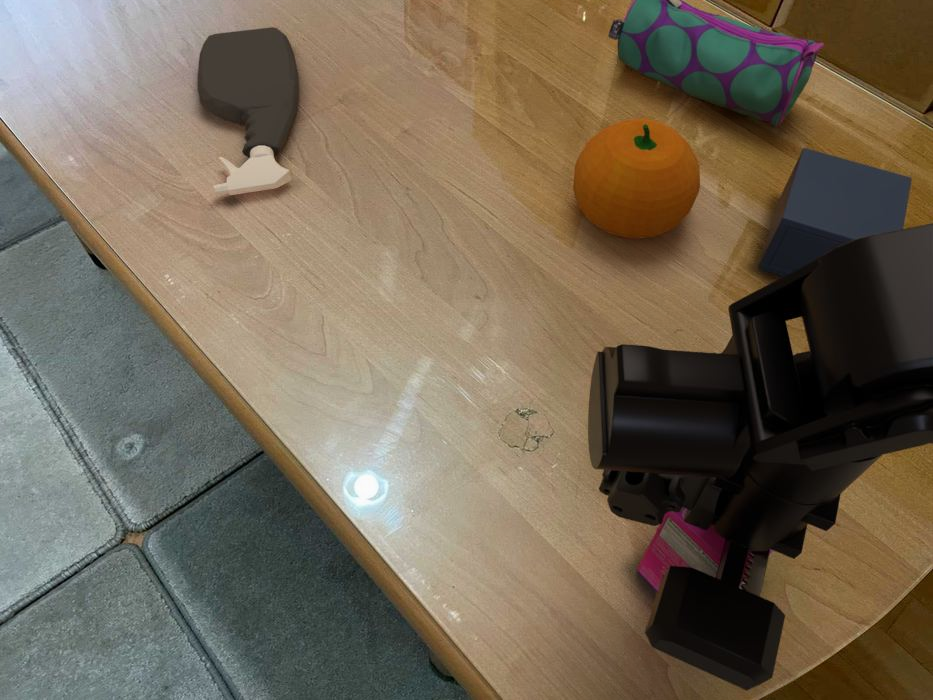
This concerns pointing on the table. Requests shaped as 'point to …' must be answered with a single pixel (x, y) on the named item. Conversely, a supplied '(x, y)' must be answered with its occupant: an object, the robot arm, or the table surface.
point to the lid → (844, 198)
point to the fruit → (636, 178)
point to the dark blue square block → (791, 243)
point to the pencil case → (715, 57)
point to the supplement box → (682, 549)
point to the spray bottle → (251, 100)
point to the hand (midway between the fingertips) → (703, 556)
